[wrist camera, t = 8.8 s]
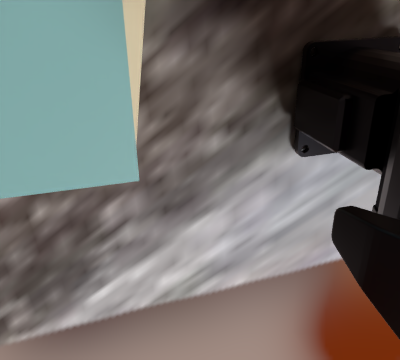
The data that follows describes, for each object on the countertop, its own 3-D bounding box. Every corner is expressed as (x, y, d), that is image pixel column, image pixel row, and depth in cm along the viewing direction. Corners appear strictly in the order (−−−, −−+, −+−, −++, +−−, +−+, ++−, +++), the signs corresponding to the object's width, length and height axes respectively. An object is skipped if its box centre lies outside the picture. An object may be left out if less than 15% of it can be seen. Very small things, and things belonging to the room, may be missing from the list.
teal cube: (103, -45, 13) (115, -72, 8) (121, 121, 16) (139, 180, 11) (-92, -46, 12) (-228, -80, 7) (-38, 136, 15) (-106, 212, 9)
